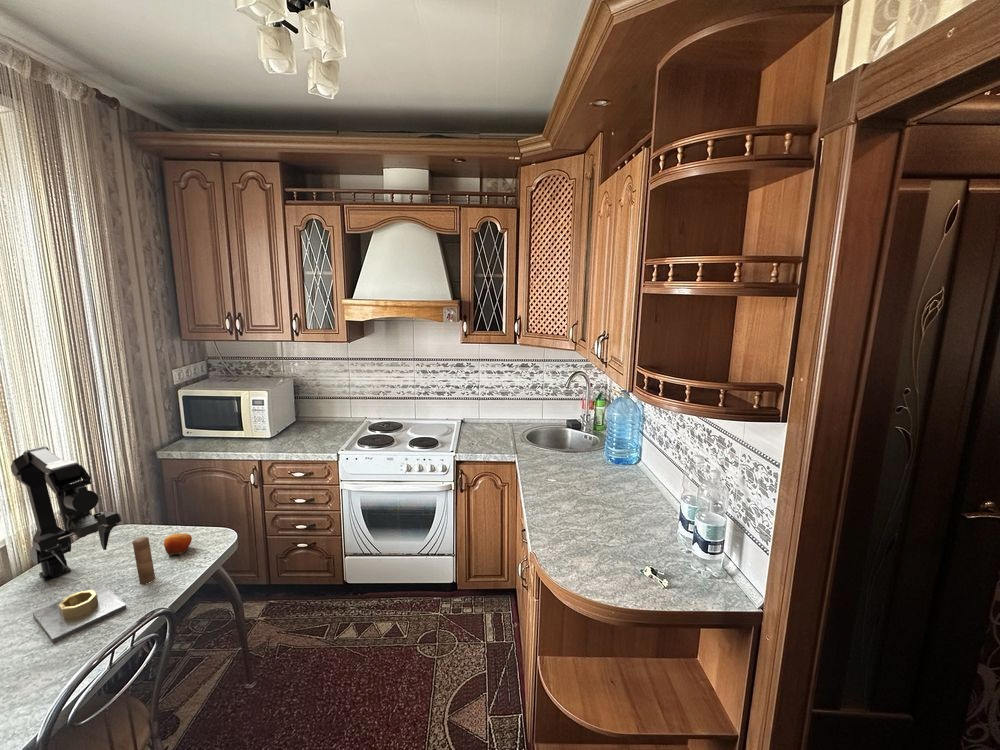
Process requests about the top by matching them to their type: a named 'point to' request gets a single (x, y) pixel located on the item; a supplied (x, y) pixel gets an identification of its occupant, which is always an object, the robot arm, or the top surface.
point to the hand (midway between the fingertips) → (85, 557)
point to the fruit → (177, 543)
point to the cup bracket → (78, 612)
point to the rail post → (143, 560)
